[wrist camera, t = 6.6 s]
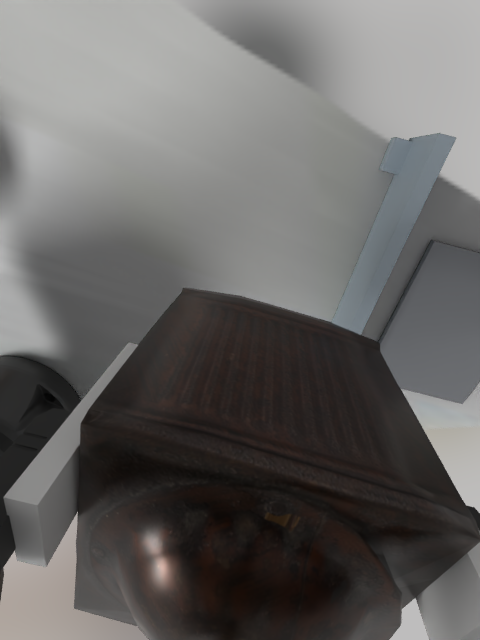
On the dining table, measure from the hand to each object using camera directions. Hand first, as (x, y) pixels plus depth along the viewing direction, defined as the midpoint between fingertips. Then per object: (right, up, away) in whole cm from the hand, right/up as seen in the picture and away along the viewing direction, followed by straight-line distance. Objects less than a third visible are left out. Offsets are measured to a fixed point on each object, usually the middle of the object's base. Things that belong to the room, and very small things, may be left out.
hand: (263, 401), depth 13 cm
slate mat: (+21, +2, +19) cm, 28 cm away
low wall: (+10, +6, +18) cm, 22 cm away
